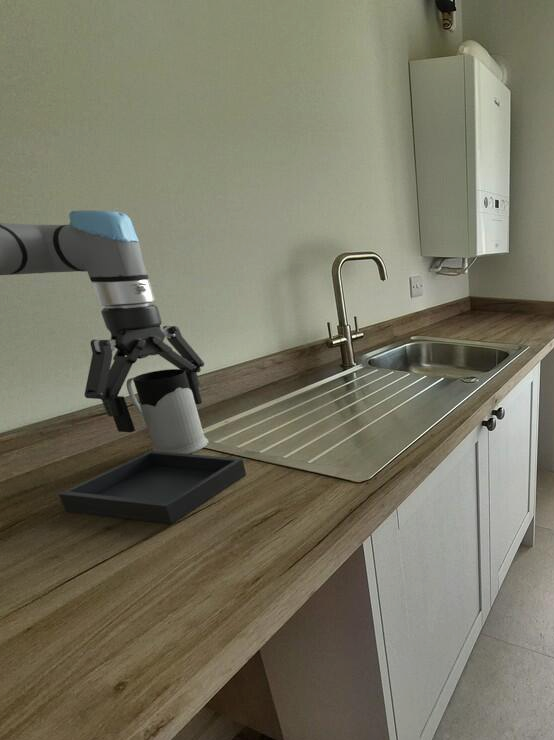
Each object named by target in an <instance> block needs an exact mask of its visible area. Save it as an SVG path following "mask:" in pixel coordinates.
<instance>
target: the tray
mask: <svg viewBox="0 0 554 740" xmlns="http://www.w3.org/2000/svg"><path fill="white" fill-rule="evenodd" d="M246 475H247V471H246V468H245V464H244V460H243V458H237V457H224V456H215V455H204V454H193V453H190V454H182V453H170V452H159V451H153V450H149V451H147V452H145V453H142V454H141V455H139V456H137V457H134V458H132V459H130V460H128V461H126V462H123V463H122V464H120V465H117V466H115V467H113V468H110V469H109V470H107V471H104V472H102V473H100V474H98V475H96V476H93V477H92V478H90V479H87V480H85V481H83V482H81V483H79V484H76V485H74V486H73V487H70V488H68V489H66V490H64V491H62V492H60V493H58V496H59V498H60V501H61V503H62V506H63V509H64V510H65V513H74V514H81V515H89V516H99V517H107V518H115V519H123V520H132V521H139V522H146V523H156V524H163V525H173V524H175V523H176V522H178V521H179V520H181V519H182V518H184V517H185V516H187V515H188V514H190V513H192V512H193V511H194V510H196V509H197V508H199V507H201V506H202V505H203V504H205V503H206V502H208V501H209V500H211V499H212V498H214V497H215V496H217V495H219V494H220V493H221V492H223V491H224V490H226V489H227V488H229V487H230V486H231V485H233V484H235V483H236V482H237V481H239V480H240V479H242V478H244V477H245V476H246Z"/></svg>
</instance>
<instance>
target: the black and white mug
mask: <svg viewBox="0 0 554 740" xmlns="http://www.w3.org/2000/svg"><path fill="white" fill-rule="evenodd" d="M132 382H133V384H134V387H135V390H136V393H137V396H138V400H139V401H138V400H137V397H136V395H135V392H134V389H133V387H132ZM125 385H126V390H127V392H128V393H127V394H128V395H129V398H130V400H131V402H132V403H133V406H134V408H136V410H137V412H138V413H139V414H140V415H141V416H142V417H143V419H144V422H145V426H146V428H147V431H148V435H149V439H150V441H151V444H152V447H153V448H152V449H153V450H152V451H159V452H170V453H182V454H193V453H196V452H198V451H200V450H202V449H203V448H205V447H206V446H207V445H208V444H209V440H208V438H207V437H206V436H205V435H204V431H203V430H204V429H203V427H202V422H201V419H200V416H199V412H198V409H197V408H198V407H197V404H195V401H194V397H193V394H192V391H191V390H190V387H189V383H188V380H187V376H186V372H185V370H181V369H179V368H171V369H160V370H155V371H154V370H153V371H149V372H146V373H145V372H144V373H141V374H139V375H136V376H134V377H130V378H128V379H127V380H126V384H125ZM207 443H208V444H207Z"/></svg>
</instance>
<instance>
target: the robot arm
mask: <svg viewBox="0 0 554 740" xmlns="http://www.w3.org/2000/svg"><path fill="white" fill-rule="evenodd" d="M68 218H69V223H67V224H27V223H10V222H9V223H8V222H0V276H13V275H32V274H33V275H34V274H48V273H49V274H50V273H70V272H71V273H72V272H82V273H83V272H87V275H88V277H89V279H90V284H91V287H92V289H93V293H94V296H95V298H96V302H97V305H98V306H101V307H103V308H102V309H101V310H100V314H101V316H102V319H103V322H104V324H105V328H106V329H107V330H108V331H109V333H110V334H111V335H110V338H109V339H91V340H90V348H91V353H92V355H91V359H90V360H91V361H90V364H89V370H88V374H87V380H86V384H85V389H84V397H85V398H86V399H92V400H93V399H94V400H95V399H96V400H101V401H102V404H103V407H104V409H105V413H106V415H107V416H108V417H112V418H113V421H114V424H115V426H116V429H117V431H118V433H119V432H120V433H121V432H122V433H134V432H136V428H135V426H134V423H133V420H132V417H131V414H130V411H129V408H128V405H127V402H126V399H125V396H124V395H119V393H120V392H121V389H122V387H123V385H124V384H125V381H126V379H127V377H128V375H129V373H130V371H131V368H132V366H133V364H135V363H136V362H137V361H138V359H139V360H141V359H145V358H147V357H149V356H157V355H158V356H159V357H161V358H163V359H164V360H166V361H167V362H169V363H170V364H172V365H173V366H174V367H176V369H181V370H185V372H186V376H187V380H188V383H189V387H190V390H191V391H192V394H193V397H194V401H195V405H201V404H203V401H202V397H201V393H200V390H199V387H200V384H201V383H200V381H199V377H198V373H200V372H201V368H202V367H203V368H204V366H205V362H204V360H202V358H201V357H200V356H199V354H197V352H196V351H195V350H194V349H193V347H192V346H191V345H190V344H189V343H188V342H187V341H186V339H185V338H184V337H183V335H182V333H181V330H180V328H179V326H177V325H164V326H163V327H161V325H162V323H163V322H162V317H161V315H160V310H159V308H158V306H157V305H156V304H153V303H155V301H156V298H155V295H154V290H153V287H152V284H151V281H150V279H149V275H148V273H147V269H146V265H145V261H144V258H143V255H142V254H143V253H142V250H141V246H140V239H139V237H137V234H136V231H135V228H134V224H133V223H132V222H133V221H132V220H131V218H130V217H129V216H128V215H127V214H126V213H124V212H120V211H112V210H111V211H110V210H93V209H92V210H91V209H89V210H88V209H87V210H85V209H83V210H71V211H69V213H68ZM165 339H167V341H168V342H169V343H170V345H171V346H172V347H173V348H174V349H175V350H176V351H174V350H173V348H172V347H171V346H170V345H168V344H167V343H166V342H165V341H164V340H165ZM115 349H116V352H115V354H114V355H113V352H114V351H115ZM112 361H113V363H112Z"/></svg>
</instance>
